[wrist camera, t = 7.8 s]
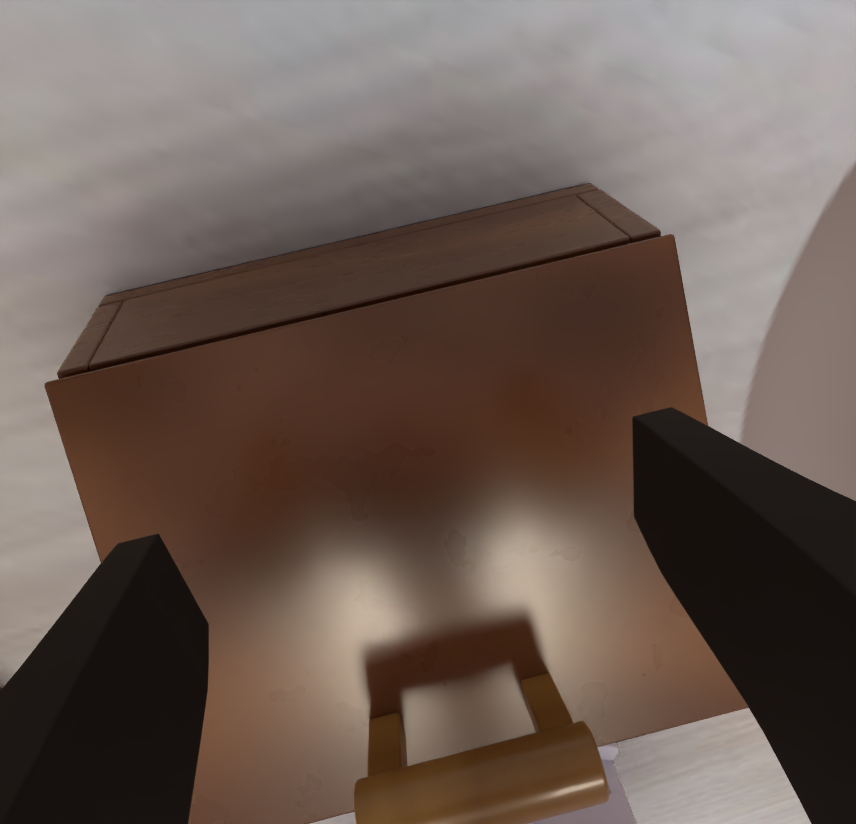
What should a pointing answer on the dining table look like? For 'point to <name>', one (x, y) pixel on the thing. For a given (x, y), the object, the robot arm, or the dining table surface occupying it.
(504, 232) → the trinket box
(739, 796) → the dining table surface
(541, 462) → the box lid
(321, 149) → the dining table surface
